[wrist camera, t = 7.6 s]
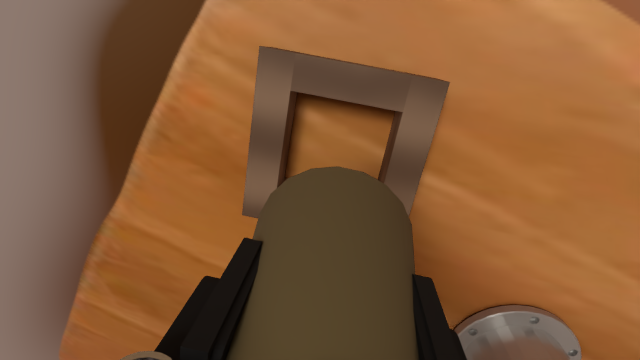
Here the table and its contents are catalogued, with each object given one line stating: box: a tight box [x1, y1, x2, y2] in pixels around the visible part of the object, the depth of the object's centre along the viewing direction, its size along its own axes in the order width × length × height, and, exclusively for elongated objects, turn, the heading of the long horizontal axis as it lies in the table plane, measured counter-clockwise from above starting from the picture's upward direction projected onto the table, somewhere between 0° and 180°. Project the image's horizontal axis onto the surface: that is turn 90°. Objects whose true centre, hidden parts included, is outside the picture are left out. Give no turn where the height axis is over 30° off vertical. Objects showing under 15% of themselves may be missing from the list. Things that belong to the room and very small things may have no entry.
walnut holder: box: [242, 46, 450, 218], centre depth 26 cm, size 13×13×4 cm
